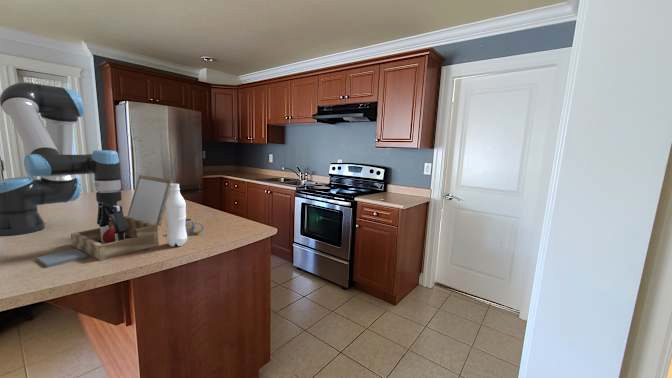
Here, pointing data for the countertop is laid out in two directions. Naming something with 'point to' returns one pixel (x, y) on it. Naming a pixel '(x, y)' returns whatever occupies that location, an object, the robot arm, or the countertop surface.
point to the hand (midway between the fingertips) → (113, 245)
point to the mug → (192, 227)
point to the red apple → (109, 235)
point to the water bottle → (176, 217)
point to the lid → (150, 199)
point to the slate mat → (61, 257)
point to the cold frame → (137, 229)
